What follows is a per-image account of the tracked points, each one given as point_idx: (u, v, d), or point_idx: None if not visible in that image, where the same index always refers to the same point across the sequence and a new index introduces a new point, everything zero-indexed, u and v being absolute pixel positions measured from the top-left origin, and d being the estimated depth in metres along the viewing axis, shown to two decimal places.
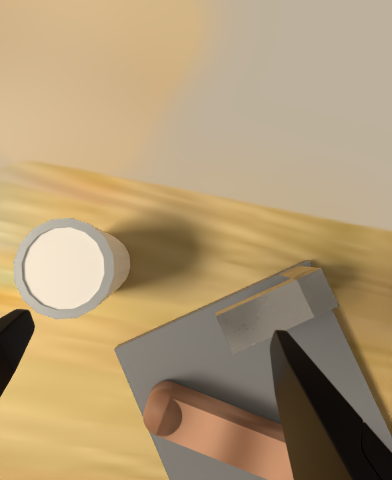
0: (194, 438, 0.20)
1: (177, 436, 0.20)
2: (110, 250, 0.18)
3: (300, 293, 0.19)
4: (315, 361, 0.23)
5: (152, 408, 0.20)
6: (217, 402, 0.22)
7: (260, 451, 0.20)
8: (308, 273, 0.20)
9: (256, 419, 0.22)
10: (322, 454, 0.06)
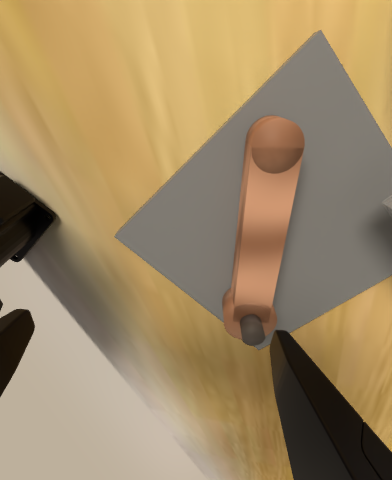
0: (259, 195, 0.17)
1: (257, 174, 0.16)
2: None
3: None
4: (334, 275, 0.23)
5: (285, 130, 0.15)
6: None
7: (263, 261, 0.19)
8: None
9: None
10: (322, 454, 0.06)
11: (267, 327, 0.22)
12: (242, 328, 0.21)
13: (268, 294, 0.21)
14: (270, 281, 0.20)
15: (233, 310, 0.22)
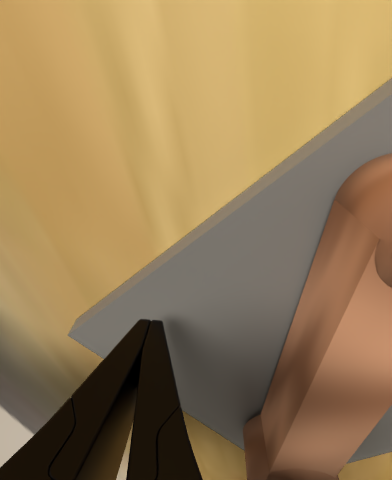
0: (367, 329, 0.07)
1: (374, 294, 0.07)
2: None
3: None
4: None
5: None
6: None
7: (339, 424, 0.10)
8: None
9: None
10: None
11: None
12: None
13: (335, 463, 0.11)
14: (344, 448, 0.11)
15: (267, 475, 0.12)
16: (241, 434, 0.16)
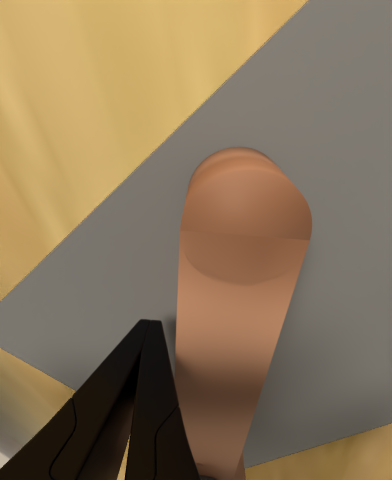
0: (205, 321, 0.08)
1: (197, 285, 0.07)
2: None
3: None
4: (346, 402, 0.14)
5: (264, 197, 0.06)
6: None
7: (218, 417, 0.10)
8: None
9: None
10: None
11: None
12: None
13: (230, 456, 0.12)
14: (233, 441, 0.11)
15: None
16: None
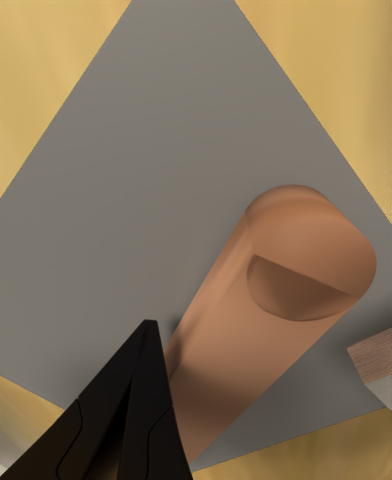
0: (229, 339, 0.08)
1: (240, 306, 0.07)
2: None
3: None
4: (288, 400, 0.14)
5: (344, 251, 0.06)
6: None
7: (189, 425, 0.10)
8: None
9: None
10: None
11: None
12: None
13: None
14: (191, 449, 0.11)
15: None
16: None
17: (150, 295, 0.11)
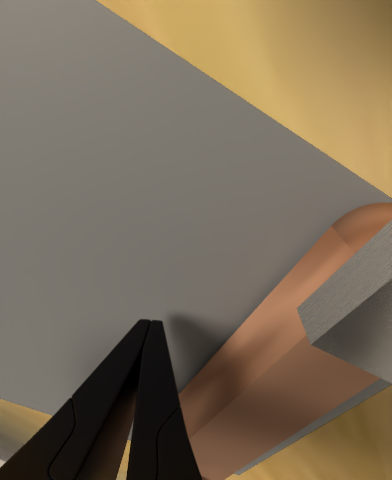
0: (317, 356, 0.08)
1: None
2: None
3: None
4: None
5: None
6: None
7: (245, 438, 0.10)
8: None
9: None
10: None
11: None
12: None
13: (223, 472, 0.12)
14: (238, 460, 0.11)
15: None
16: None
17: (123, 301, 0.11)
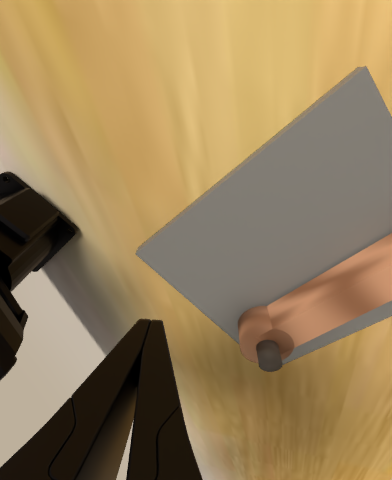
0: None
1: None
2: None
3: None
4: None
5: None
6: None
7: (336, 313, 0.20)
8: None
9: None
10: None
11: None
12: (266, 350, 0.21)
13: (306, 337, 0.21)
14: (320, 330, 0.21)
15: (269, 330, 0.21)
16: (237, 329, 0.25)
17: (294, 230, 0.20)
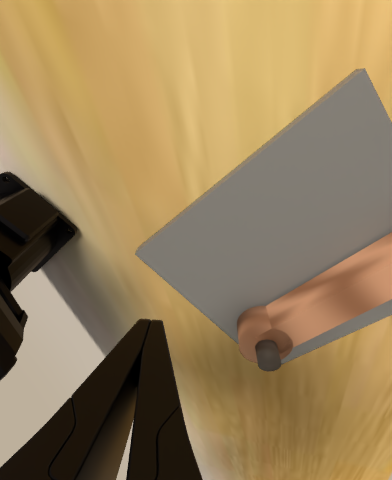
0: None
1: None
2: None
3: None
4: None
5: None
6: None
7: (335, 313, 0.20)
8: None
9: None
10: None
11: None
12: (265, 350, 0.21)
13: (305, 337, 0.21)
14: (319, 329, 0.21)
15: (268, 330, 0.21)
16: (236, 329, 0.25)
17: (292, 231, 0.20)
